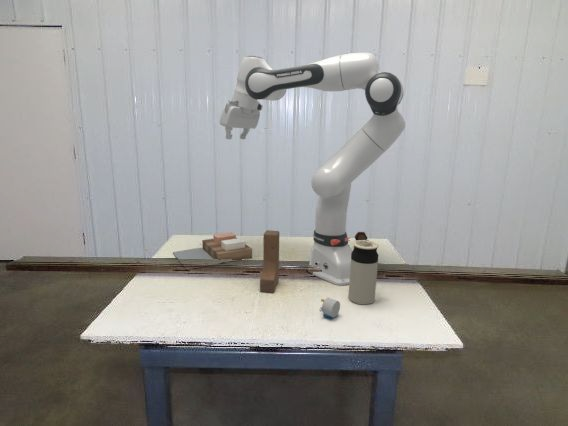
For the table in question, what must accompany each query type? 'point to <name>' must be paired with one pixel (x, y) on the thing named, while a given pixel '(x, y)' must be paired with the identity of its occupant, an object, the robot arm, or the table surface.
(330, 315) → the electric motor
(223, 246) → the cream tile
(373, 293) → the travel mug
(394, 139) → the robot arm
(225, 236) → the clay tile
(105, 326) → the table surface
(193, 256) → the mat
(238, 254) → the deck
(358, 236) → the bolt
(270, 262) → the wooden block
